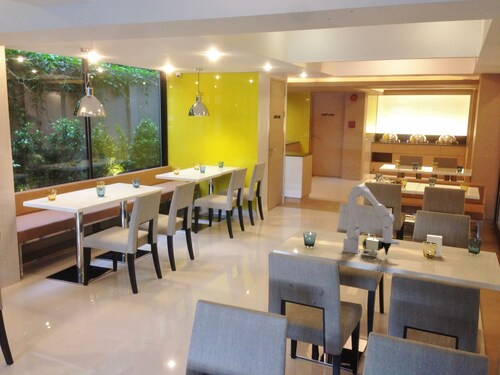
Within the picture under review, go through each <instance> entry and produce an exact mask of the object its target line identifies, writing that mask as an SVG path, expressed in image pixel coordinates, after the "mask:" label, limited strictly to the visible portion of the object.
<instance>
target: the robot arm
mask: <svg viewBox="0 0 500 375" xmlns="http://www.w3.org/2000/svg"><path fill="white" fill-rule="evenodd" d="M360 197H362V198H366V199H367V200H368V202H370V204H371V205H372V206H373V207H374V211H375V212H376V213H377V215H378V216H379V217H380V218H381V221H382V224H383V225H382V226H383V227H382V238H375V240H380V242H383V249H384V252H385V256H388V253H389V250H390V247H391V246H392V245H397V246H400V243H401V242H400V240H399V241H398V240H394V239H393V234H394V233H393V230H394V229H393V228H394V221H395V215H394V214H393V213H391V212H390V211H388V209H387V208H386V206H385V204H384V205H383V204H382V203H380V202H379V201H378V200H377V198H375V196H374V195H373V193H372V192H371V191H370V188H368V186H366V184H363V183H359V184H357V185H354V186H353V187H352V188H350V191H349V194H348V197H347V200H348V201H347V203H348V204H347V206H348V225H347V230H346V231H345V233H346V234H345V235H346V237H343V246H342V252H344V253H352V254H358V253H359V252H360V251H361V250H360V249H359V245H360V244H359V243H360V235H361V234H362V233H361V232H362V231H361V228H360V224H359V223H358V207H357V206H358V203H357V199H358V198H360Z"/></svg>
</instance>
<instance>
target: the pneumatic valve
mask: <svg viewBox="0 0 500 375" xmlns="http://www.w3.org/2000/svg"><path fill="white" fill-rule="evenodd" d="M375 239H376V238H375V237H366V238H365V239H364V240H363V242H362V243H363V244H362V245H363V247H364V250H368V251H369V252H368V253H367V255H371V256H374V258H375V257H377V256H378V255H379V253H378V252H379V251H381V250H383V249H384V247H383V242H380V240H375Z"/></svg>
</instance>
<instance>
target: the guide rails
mask: <svg viewBox="0 0 500 375" xmlns="http://www.w3.org/2000/svg"><path fill="white" fill-rule="evenodd" d="M369 251H370V250H369V249H363V253H364V254H362V253H361V254H360V258H364V259H365V258H366V259H374V258H375V257H374V256H371V255H369V254H368V252H369Z"/></svg>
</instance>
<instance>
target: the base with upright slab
mask: <svg viewBox="0 0 500 375" xmlns="http://www.w3.org/2000/svg"><path fill="white" fill-rule="evenodd" d="M427 242H433V243H436V244H437V245H438V246H437V249H436V256H435V257H441V256H442V246H443V236H442V235H434V234H427V235H426V243H427Z"/></svg>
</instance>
